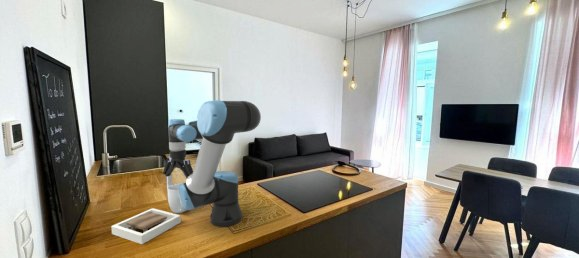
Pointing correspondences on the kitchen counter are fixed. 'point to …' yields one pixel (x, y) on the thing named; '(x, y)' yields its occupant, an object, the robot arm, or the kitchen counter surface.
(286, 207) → the kitchen counter surface
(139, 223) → the brown piece
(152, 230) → the face frame
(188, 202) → the robot arm
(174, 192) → the mug
